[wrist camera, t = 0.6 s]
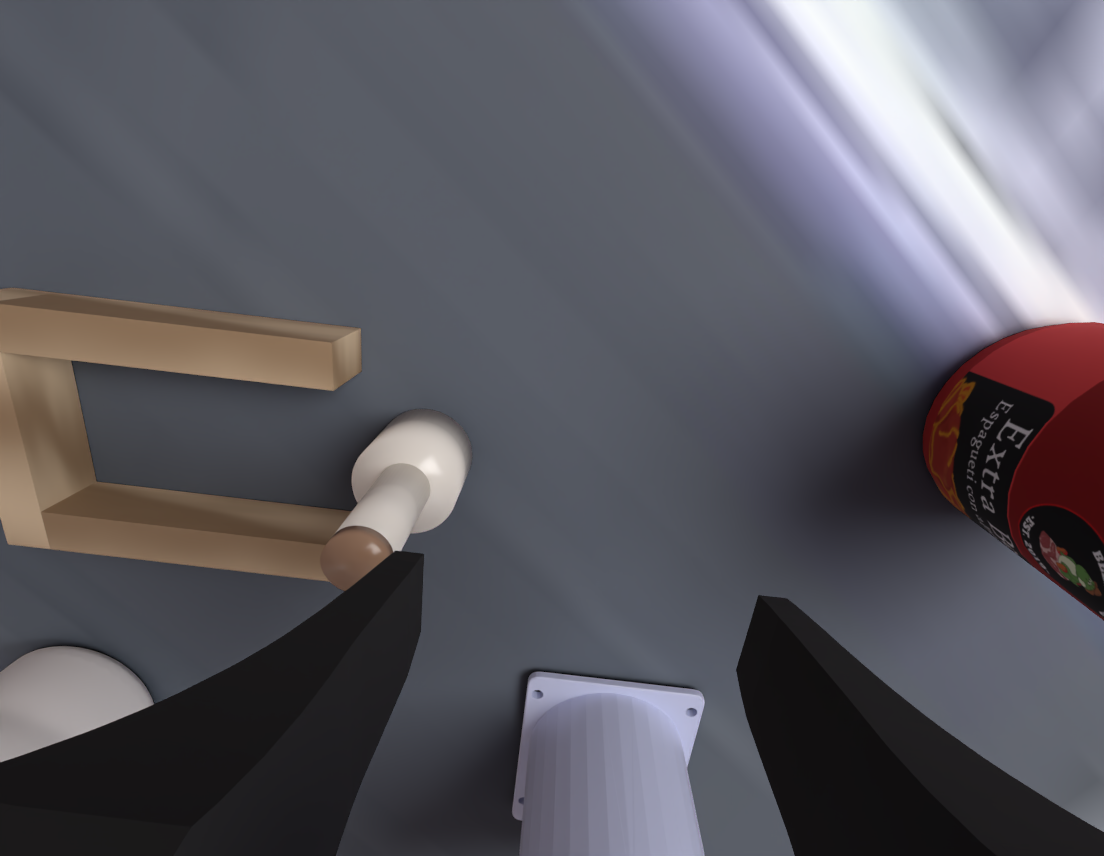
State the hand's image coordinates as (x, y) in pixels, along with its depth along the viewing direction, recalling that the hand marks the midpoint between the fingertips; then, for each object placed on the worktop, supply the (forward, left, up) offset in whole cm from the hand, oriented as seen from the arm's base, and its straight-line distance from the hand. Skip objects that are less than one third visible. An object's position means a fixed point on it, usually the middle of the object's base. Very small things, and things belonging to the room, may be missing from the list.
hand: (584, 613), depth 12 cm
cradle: (-1, +14, -10) cm, 17 cm away
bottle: (-1, +6, -10) cm, 12 cm away
